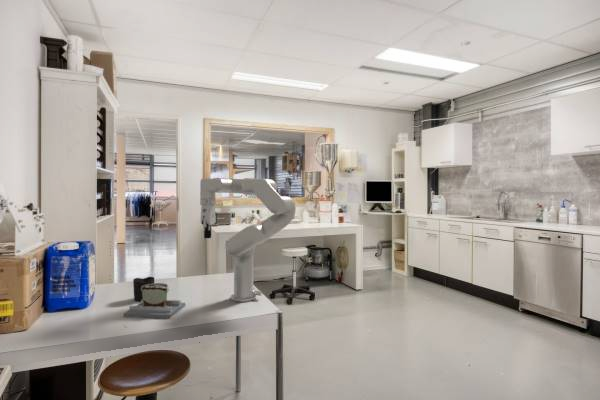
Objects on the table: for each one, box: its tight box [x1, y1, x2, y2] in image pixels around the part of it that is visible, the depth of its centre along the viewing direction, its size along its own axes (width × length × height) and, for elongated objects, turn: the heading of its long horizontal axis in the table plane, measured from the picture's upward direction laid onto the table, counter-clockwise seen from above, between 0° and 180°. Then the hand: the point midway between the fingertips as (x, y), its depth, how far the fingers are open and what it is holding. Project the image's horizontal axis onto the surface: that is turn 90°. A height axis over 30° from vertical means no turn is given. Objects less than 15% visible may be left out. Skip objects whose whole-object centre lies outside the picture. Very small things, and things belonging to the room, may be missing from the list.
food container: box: [141, 282, 170, 307], centre depth 152 cm, size 12×6×10 cm, turn 84°
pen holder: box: [132, 276, 155, 303], centre depth 168 cm, size 9×9×10 cm
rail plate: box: [123, 299, 186, 319], centre depth 151 cm, size 20×16×4 cm
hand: (207, 237), depth 176 cm, fingers closed
